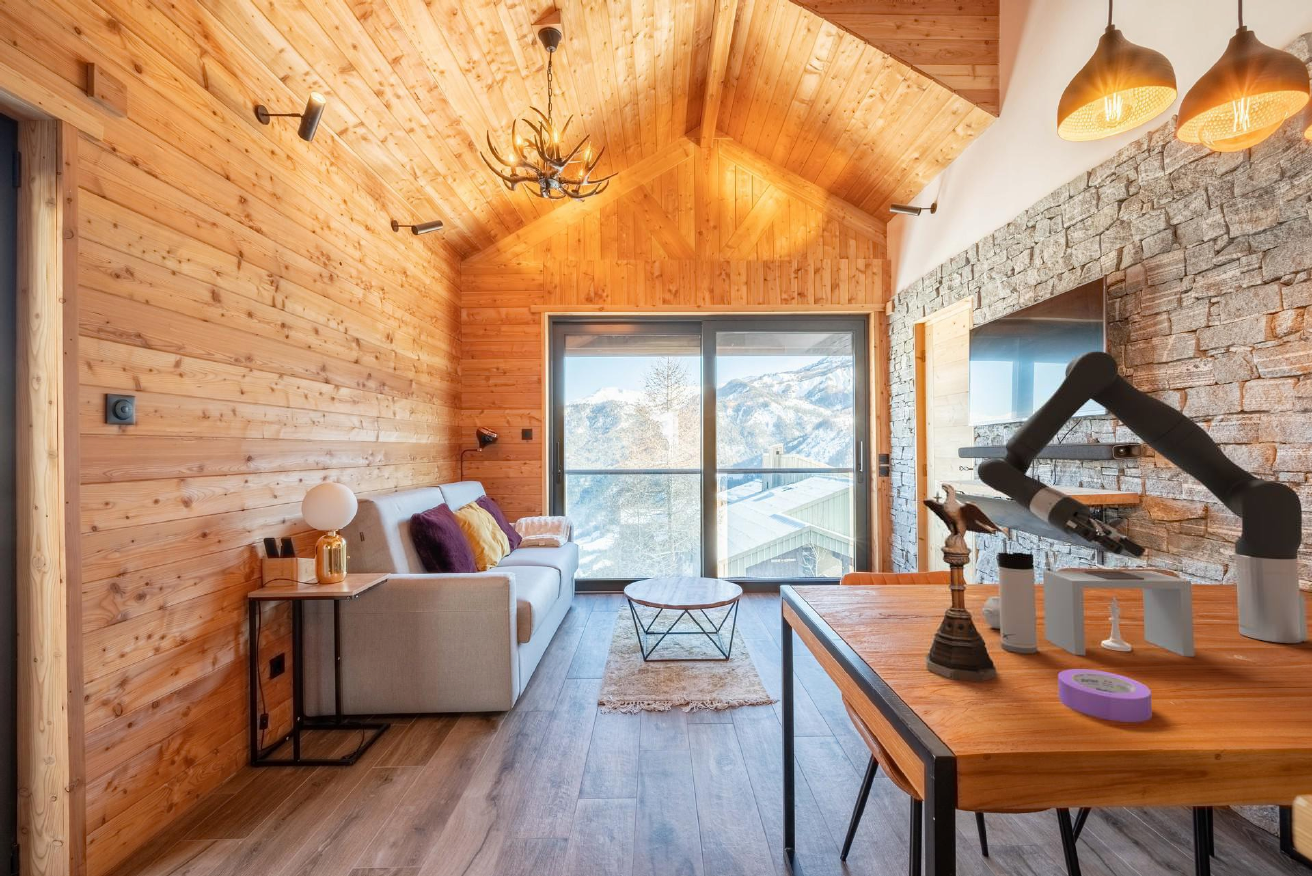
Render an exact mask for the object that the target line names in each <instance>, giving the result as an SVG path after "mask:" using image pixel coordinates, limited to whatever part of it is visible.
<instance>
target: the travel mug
mask: <svg viewBox="0 0 1312 876" xmlns="http://www.w3.org/2000/svg"><path fill="white" fill-rule="evenodd" d="M997 554H998V555H997V558H998V559H997V560H998V566H997V567H998V571H997V572H998V595H999V596H998V597H999V601H1000V629H999V630H1000V646H1001V648H1002V649H1004V651H1008V652H1010V653H1015V654H1023V655H1031V654H1035V653H1037V652H1038V644H1037V643H1038V641H1037V639H1038V638H1037V635H1038V634H1037V617H1036V616H1037V615H1036V612H1037V611H1036V610H1037V609H1036V608H1037V607H1036V589H1035V588H1036V586H1035V582H1036V581H1035V572H1034V571H1035V567H1034V554H1033V553H1023V552H1015V551H1012V553H1009V552H998V553H997Z"/></svg>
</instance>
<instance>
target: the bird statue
mask: <svg viewBox="0 0 1312 876" xmlns="http://www.w3.org/2000/svg"><path fill="white" fill-rule="evenodd" d="M941 490H943V491H944V492H945V494H946V498H945V500H944V502H940V501H939V500H940V499H943V497H942V496H940V494H939V493H940V492H939V491H936V495H935V496H933V497H932V498H933V499H932V498H925V499H923V500H922V504H923V505H924V506H925V507H927V508H928V509H929V510H930V511H932V512H933V513H934V514H935V515H936V516H937V517H938V518H939V520H941V521H943V523H944V525H945V527H946V528H947V530H948V531H950V534H949V535H947V537H946V538H945V540H944V545H945V546H941V548H940V551H941V552H942V553H943V556H942V557H943V558H942V560H943V562H945V563H946V564H948V565H949V566H948V567H949V569H950V571H949V572H950V573H949V574H950V575H949V576H950V584H949V585H948V588H949V589H950V592H951V594H950V595H951V606H949V608H947V609H946V611H945V612H944V617H943V620H942V622H941V623H940V626H939V628H938V629H936V633H935V634H933V636H934V639H933V643H931V647H930V649H929V653H925V658H924V659H925V665H926V669H927V671H930V672H933V673H935V674H937V675H941V676H943V677H946V678H948V679H951V680H961V681H969V682H983V681H987V680H991V679H992V680H993V679H995V678H997V668H996V665H994V661H993V659H992V658H991V657H990V655H989V653H988V650H987V647H986V641H985V640H984V638H983V636H982V635H981V632H979V631H978V630H977V628H976V625H975V624H974V622H973V619H972V618H973V615H972V614H971V613H970V611H969V610H967V609H966V606H965V591H966V590H967V588H966V586H965V581H964V569H965V567H964V566H965V565H967V564H969V563H971V560H970V559H971V558H970V554H971V553H972V549H971V548H969V547H968V544H967V542H966V540H965V538H964V537H965V535H966V532H969V533H970V532H972V533H978V534H981V533H982V534H992V535H996V533H997V532H1000V533H1003V534H1004V536H1006V537H1007V538H1009V540H1012V537H1011V536H1010V535H1009V531H1010V529H1009V528H1008V527H1007V526H1000V525H999V526H998V525H997V524H996V523H995V522H993V521H992V520H991V518H989V516H988V515H987V514H986V513H985V512H984V511H983V509H982V508H981V507H980V506H979V505H978V504H977V503H976V502H975V501H974V502H973V501H970V500H969V501H965V502H964V504H963V503H962V504H961V503H959V502H958V501H957V497H956V493H957V492H956V490H955V489H954V487H953V486H952V484H951V485H950V484H947V483H942V484H941ZM934 499H935V500H934Z"/></svg>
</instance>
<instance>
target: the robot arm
mask: <svg viewBox="0 0 1312 876" xmlns="http://www.w3.org/2000/svg"><path fill="white" fill-rule="evenodd" d="M1090 400H1092V401H1094V402H1095V403H1097V404H1098V405H1100V406H1102V407H1103V408H1104V409H1106V410H1107V411H1109V413H1111V414H1112V415H1113V416H1114V417H1115V418H1116V419H1118V421H1119V422H1121V423H1122V424H1123V426H1125V427H1126V428H1127V429H1128V430H1130V431H1131V432H1132V433H1133V434H1134V435H1135V436H1137V437H1138V438H1139V439H1140V440H1141V441H1143V442H1144V443H1145V444H1146V445H1148V446H1149V447H1150V448H1151V449H1153V450H1155V452H1157V453H1158V454H1159V455H1161V456H1162V457H1163V458H1164V459H1166V460H1168V462H1170V463H1172V464H1173V465H1175V466H1176V467H1177V468H1179V469H1180V470H1182V471H1183V472H1185V473H1186V474H1188V475H1189V476H1191V477H1192V478H1193V479H1195V480H1197V481H1198V482H1199V483H1200V484H1202V486H1204V487H1205V488H1206V489H1207V490H1208V491H1209V492H1210V493H1212V495H1214V496H1215V497H1216V498H1217V499H1218V500H1219V501H1220V502H1221V503H1222V504H1223V505H1224V506H1225V507H1226V508H1227V509H1228V510H1229V511H1230V512H1232V513H1233V514H1234V515H1235V516H1237V517H1238V518H1240V519H1241V535H1240V537H1239V538H1238V539H1237V540H1236V541H1235V543H1234V549H1235V550H1234V555H1235V572H1236V593H1237V594H1236V595H1237V613H1238V614H1237V616H1238V631H1239V632H1238V633H1239V634H1241V635H1242V636H1245V637H1247V638H1248V637H1249V638H1251V639H1255V640H1262V641H1266V642H1273V643H1281V644H1282V643H1284V644H1299V643H1302V642H1308V632H1307V631H1308V629H1307V628H1308V627H1307V614H1306V613H1307V612H1306V597H1305V594H1302V593H1300V578H1299V563H1298V561H1299V560H1298V558H1299V557H1298V552H1299V551H1298V550H1299V548H1300V546H1301V544H1302V541H1303V538H1302V537H1303V532H1302V531H1303V525H1302V523H1303V517H1302V516H1303V511H1302V504H1301V500H1300V497H1299V495H1298V494H1297V492H1296V491H1295V490H1294V489H1293V488H1291V487H1290V486H1288V485H1286V484H1284V483H1281V482H1278V481H1273V480H1272V481H1271V480H1262V479H1261V478H1258V477H1256V476H1254V475H1253V474H1251V473H1249V472H1248V471H1246V470H1245V469H1244V468H1242V467H1240V466H1239V465H1238V464H1236V463H1235V462H1234V461H1232V460H1231V459H1230V458H1229V457H1227V456H1226V454H1225V453H1224V452H1223V451H1222V450H1221V448H1220V447H1219V445H1218V444H1217V443H1216V442H1215V440H1214V439H1213V438H1212V437H1211V436H1210V435H1209V434H1208V433H1207V431H1206V430H1204V428H1203V427H1201V426H1200V425H1199V424H1197V423H1196V422H1194V421H1193V420H1192V419H1190V417H1188V416H1187V415H1185V414H1184V413H1182V412H1181V411H1180V410H1178V409H1176V408H1175V407H1172V405H1169V404H1168V403H1165V402H1163V401H1161V400H1160V399H1157V398H1155V397H1153V396H1152V395H1149V394H1147V393H1145V392H1143V391H1141V390H1140V389H1138V388H1136V387H1135V386H1133V385H1132V383H1129V382H1128V381H1127V380H1126V379H1125V378H1124V377H1123V376H1121V375H1120V374H1119V365H1118V362H1117V360H1116V359H1115V357H1114V356H1113V355H1111V354H1109V353H1107V352H1104V351H1098V350H1097V351H1096V350H1095V351H1087V352H1085V353H1082V354H1080V355H1078V356H1076V357H1075V358H1074V359H1072V360H1070V362H1069V363H1068V364H1067V366H1066V369H1065V378H1064V379H1063V381H1062V383H1061V384H1060V386H1059V387H1058V388H1057V389H1056V390H1055V392H1054V393H1053V394H1052V395H1051V396H1050V398H1049V399H1048V400H1047V401H1046V402H1045V403H1044V404H1043V405H1042V406H1041V407H1039V408H1038V409H1037V410H1036V411H1035V412H1034V413H1033V414H1031V416H1030V417H1029V418H1028V419H1026V421H1025V422H1024V423H1023V424H1022V425H1021V426H1020V427H1019V428H1018V430H1016V432H1015V433H1014V434H1013V435H1012V436H1011V437H1010V438H1009V439H1008V441H1007V442H1006V444H1005V450H1006V454H1005V457H1004V458H1003V460H1002V459H1000V458H996V457H992V458H986V459H984V460H982V461H981V462H980V464H979V465H978V467H977V475H978V478H979V480H980V481H981V482H982V483H984V485H987V486H988V487H990V488H991V489H993V490H995V491H996V492H1000V493H1002V494H1003V495H1006V496H1007V497H1009V498H1010V499H1011V500H1013V501H1014V502H1015V503H1017V504H1018V505H1019V506H1021V507H1023V508H1025V509H1026V510H1027V511H1029V512H1031V513H1033V514H1035V515H1036V516H1037V517H1038V518H1039V519H1040V520H1042V521H1044V522H1046V523H1047V524H1049V525H1050V526H1052V527H1054V528H1056V529H1058V530H1059V531H1061V532H1062V533H1064V534H1065V535H1074V534H1076V535H1077V536H1079V537H1081V538H1082V539H1084V540H1086V541H1087V542H1089V543H1092V542H1093V543H1094V544H1095V545H1099V546H1102V547H1103V548H1105V549H1106V550H1107V551H1110V552H1112V553H1113V554H1115V555H1121V554H1122V552H1123V551H1126V552H1128V553H1130V554H1132V556H1133V555H1134V556H1135V557H1139V558H1141V557H1142V556H1143V555H1144V554H1145V552H1146V548H1145V547H1143V546H1141V545H1140V544H1138V543H1136V542H1135V541H1132V540H1131V539H1130V538H1131V537H1130V536H1129V535H1128V534H1126V533H1123V532H1122V531H1120V530H1118V529H1116V528H1114V527H1112V526H1111V525H1109V524H1107V523H1106V522H1104V521H1100V520H1099V519H1096V518H1095V519H1092V518H1091V509H1090V507H1089V505H1086V504H1084V503H1082V502H1080V501H1079V500H1077V499H1075V498H1073V497H1071V496H1070V495H1068V494H1066V493H1064V492H1062V491H1060V490H1058V489H1055V488H1052V487H1050V486H1049V485H1047V484H1045V483H1043V482H1042V481H1039V480H1038V479H1035V478H1033V477H1030V476H1029V475H1027V472H1028V471H1029V469H1030V467H1031V466H1032V463H1033V461H1034V460H1035V459H1036V458H1037V457H1038V455H1040V453H1041V452H1042V451H1044V449H1045V448H1046V447H1047V446H1048V445H1049V444H1050V442H1052V440H1053V439H1054V438H1055V436H1056V435H1057V434H1058V433H1059V432H1060V431H1061V430H1062V429H1063V427H1064V426H1065V425H1066V424H1067V423H1068V421H1070V419H1071V418H1072V417H1073V416H1074V415H1075V414H1077V412H1078V411H1079V410H1080V409H1081V408H1083V406H1084V405H1085V404H1086V403H1088V402H1089V401H1090ZM1115 537H1119V539H1116V538H1115Z"/></svg>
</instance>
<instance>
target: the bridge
mask: <svg viewBox="0 0 1312 876" xmlns="http://www.w3.org/2000/svg"><path fill="white" fill-rule="evenodd" d="M1084 571H1085V570H1043V571H1042V577H1043V603H1044V604H1043V607H1044V610H1043V611H1044V632H1045V633H1044V634H1045V635H1044V636H1045V640H1046V641H1049V642H1050V643H1051V644H1052V643H1053V644H1054V645H1055V646H1057V647H1060V648H1061V649H1063V650H1065V651H1067V652H1068V653H1071V654H1072V655H1075V656H1086V632H1085V629H1086V628H1085V606H1084V590H1085V589H1087V590H1088V589H1094V590H1095V589H1097V590H1098V589H1100V590H1101V589H1103V590H1105V589H1107V590H1108V589H1112V590H1116V589H1118V590H1119V589H1120V590H1123V589H1124V590H1126V589H1127V590H1130V589H1131V590H1133V589H1134V590H1135V589H1136V590H1137V589H1138V590H1142V599H1143V600H1142V601H1143V621H1144V623H1143V626H1144V641H1146V642H1148V643H1151V644H1153V645H1156V646H1158V647H1160V648H1163V649H1165V650H1167V651H1170V652H1172V653H1175V654H1177V655H1179V656H1182V657H1195V639H1194V637H1195V636H1194V618H1193V617H1194V615H1193V613H1194V612H1193V597H1192V596H1193V595H1192V594H1193V593H1192V590H1193V589H1192V581H1190V580H1187V579H1184V578H1180V577H1176V576H1173V575H1172V576H1171V575H1168V574H1165V573H1160V572H1156V571H1153V570H1152V571H1150V570H1148V571H1147V570H1133V571H1130V570H1129V571H1127V570H1126V571H1125V570H1124V571H1123V570H1122V571H1121V570H1120V571H1121V572H1124V573H1128V574H1132V575H1135V576H1139V577H1142V578H1144V580H1139V579H1104V578H1101V577H1097V576H1094V575H1091V574H1088V573H1084Z"/></svg>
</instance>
